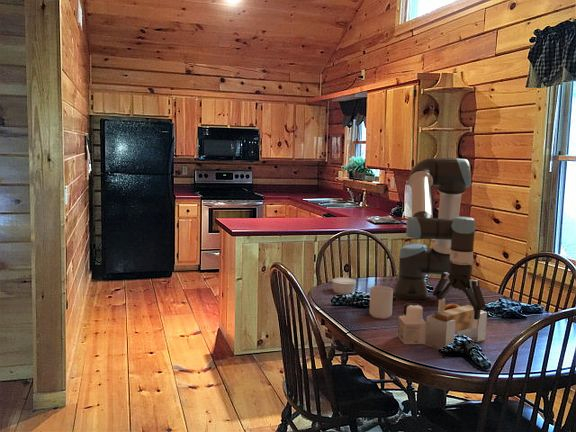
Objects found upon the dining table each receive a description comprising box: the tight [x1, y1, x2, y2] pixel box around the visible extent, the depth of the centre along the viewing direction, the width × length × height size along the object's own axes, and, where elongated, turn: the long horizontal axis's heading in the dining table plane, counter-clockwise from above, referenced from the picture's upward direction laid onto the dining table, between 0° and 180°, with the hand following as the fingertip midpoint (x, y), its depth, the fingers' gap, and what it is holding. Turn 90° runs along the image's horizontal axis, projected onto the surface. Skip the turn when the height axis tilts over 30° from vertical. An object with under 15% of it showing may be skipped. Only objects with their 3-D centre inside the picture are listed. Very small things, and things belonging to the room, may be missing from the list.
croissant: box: [445, 303, 461, 310], centre depth 213 cm, size 21×10×8 cm, turn 157°
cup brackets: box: [424, 310, 488, 351], centre depth 187 cm, size 22×8×10 cm, turn 126°
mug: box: [369, 285, 394, 320], centre depth 216 cm, size 12×9×11 cm
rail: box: [434, 304, 474, 333], centre depth 186 cm, size 18×4×6 cm, turn 126°
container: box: [397, 302, 426, 345], centre depth 188 cm, size 8×8×13 cm
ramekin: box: [331, 277, 357, 295], centre depth 249 cm, size 11×11×5 cm
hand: (456, 322), depth 187 cm, fingers open, 13 cm apart
